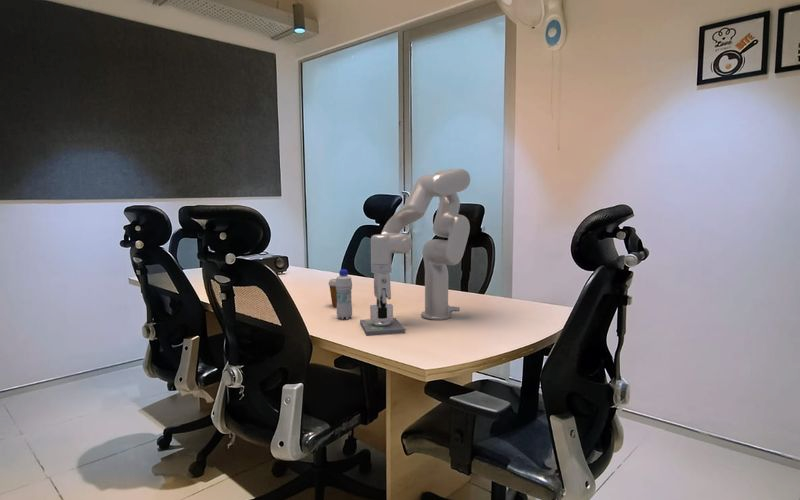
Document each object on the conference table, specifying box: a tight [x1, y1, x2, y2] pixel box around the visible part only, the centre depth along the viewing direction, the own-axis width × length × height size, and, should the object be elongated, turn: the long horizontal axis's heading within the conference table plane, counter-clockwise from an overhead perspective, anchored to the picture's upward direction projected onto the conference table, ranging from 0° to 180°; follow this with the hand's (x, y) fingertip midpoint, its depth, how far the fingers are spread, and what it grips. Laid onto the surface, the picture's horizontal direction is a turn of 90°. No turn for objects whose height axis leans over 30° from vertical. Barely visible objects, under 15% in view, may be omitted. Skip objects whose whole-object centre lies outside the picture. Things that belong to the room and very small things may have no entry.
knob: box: [363, 303, 394, 326], centre depth 178 cm, size 7×10×7 cm, turn 102°
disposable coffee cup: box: [328, 278, 337, 309], centre depth 215 cm, size 10×10×12 cm
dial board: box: [359, 317, 406, 336], centre depth 179 cm, size 14×17×2 cm
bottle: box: [335, 268, 353, 320], centre depth 193 cm, size 7×7×20 cm
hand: (381, 316), depth 179 cm, fingers closed on knob, 3 cm apart
